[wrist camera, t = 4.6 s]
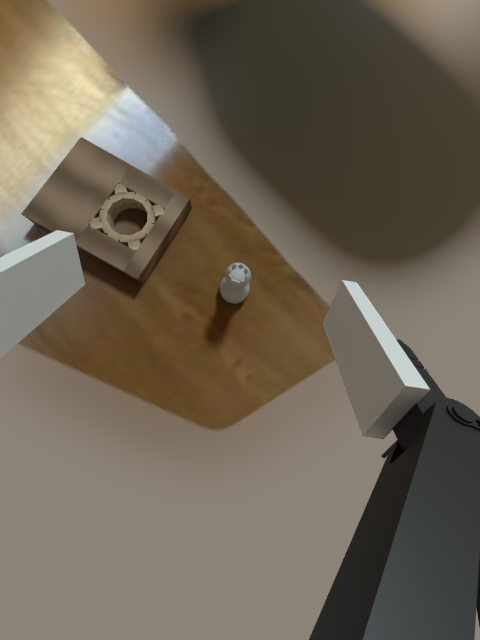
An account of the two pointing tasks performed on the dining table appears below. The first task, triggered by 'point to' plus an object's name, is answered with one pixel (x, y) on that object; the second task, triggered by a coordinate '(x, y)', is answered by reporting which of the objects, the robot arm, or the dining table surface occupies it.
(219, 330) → the dining table surface
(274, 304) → the dining table surface
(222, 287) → the rook chess piece
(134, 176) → the socket board
